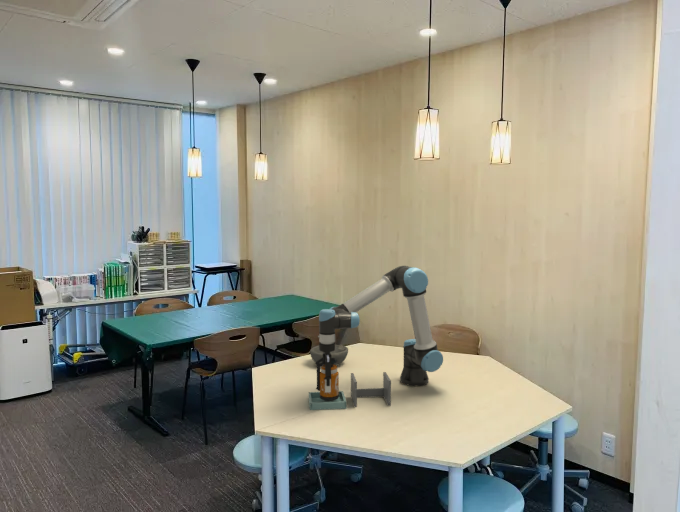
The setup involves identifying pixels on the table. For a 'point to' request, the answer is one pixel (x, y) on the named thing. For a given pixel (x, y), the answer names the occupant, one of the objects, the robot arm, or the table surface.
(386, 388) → the dock
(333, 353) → the bowl
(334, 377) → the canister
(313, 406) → the tray
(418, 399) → the table surface
